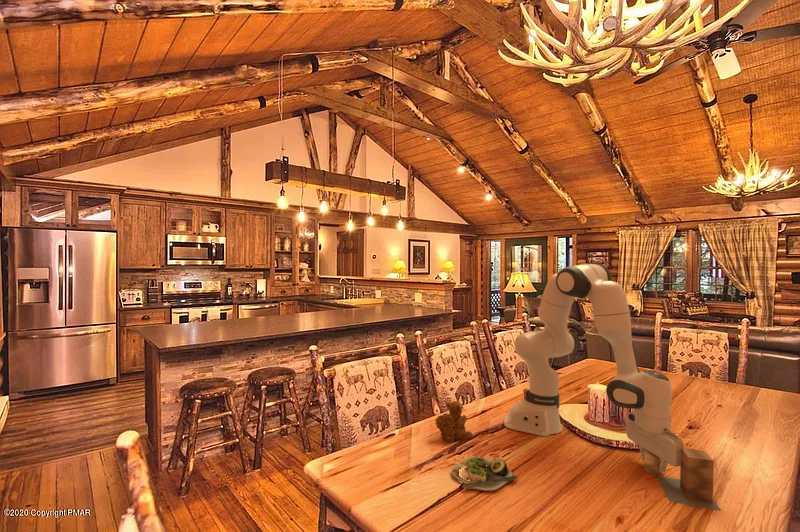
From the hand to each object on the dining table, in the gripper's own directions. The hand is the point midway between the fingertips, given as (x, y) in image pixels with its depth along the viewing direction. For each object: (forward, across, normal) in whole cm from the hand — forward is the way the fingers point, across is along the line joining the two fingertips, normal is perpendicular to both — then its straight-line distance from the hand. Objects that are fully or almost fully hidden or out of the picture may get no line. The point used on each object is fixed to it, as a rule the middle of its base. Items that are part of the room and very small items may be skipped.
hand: (653, 465), depth 128 cm
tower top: (-4, -14, -2) cm, 14 cm away
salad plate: (+3, +6, +55) cm, 55 cm away
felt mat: (+2, -12, 0) cm, 12 cm away
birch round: (+2, 0, 0) cm, 2 cm away
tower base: (+2, -14, -2) cm, 14 cm away
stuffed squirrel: (+2, +33, +56) cm, 65 cm away
